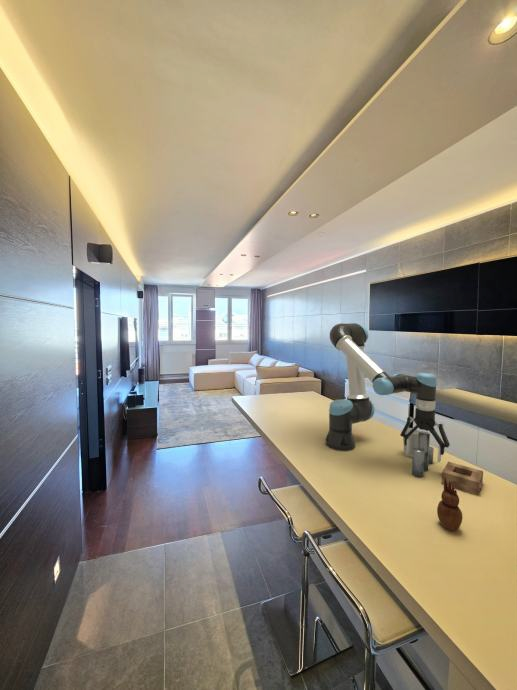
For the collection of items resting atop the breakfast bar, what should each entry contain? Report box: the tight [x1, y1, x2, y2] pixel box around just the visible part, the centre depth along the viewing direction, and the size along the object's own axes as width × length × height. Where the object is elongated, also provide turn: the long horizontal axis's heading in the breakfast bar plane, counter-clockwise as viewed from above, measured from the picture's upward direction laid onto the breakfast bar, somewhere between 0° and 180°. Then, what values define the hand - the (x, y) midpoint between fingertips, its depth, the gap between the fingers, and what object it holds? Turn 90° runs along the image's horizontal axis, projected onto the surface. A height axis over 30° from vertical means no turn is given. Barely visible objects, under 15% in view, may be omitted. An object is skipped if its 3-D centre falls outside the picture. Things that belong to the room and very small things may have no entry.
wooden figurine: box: [436, 478, 463, 531], centre depth 93 cm, size 7×6×15 cm
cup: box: [402, 427, 421, 458], centre depth 144 cm, size 8×8×12 cm
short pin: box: [429, 445, 435, 465], centre depth 137 cm, size 4×4×7 cm
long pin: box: [418, 430, 431, 472], centre depth 130 cm, size 4×4×16 cm
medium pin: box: [411, 448, 425, 479], centre depth 125 cm, size 4×4×11 cm
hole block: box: [441, 461, 484, 496], centre depth 118 cm, size 12×12×5 cm
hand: (423, 456), depth 131 cm, fingers open, 12 cm apart
